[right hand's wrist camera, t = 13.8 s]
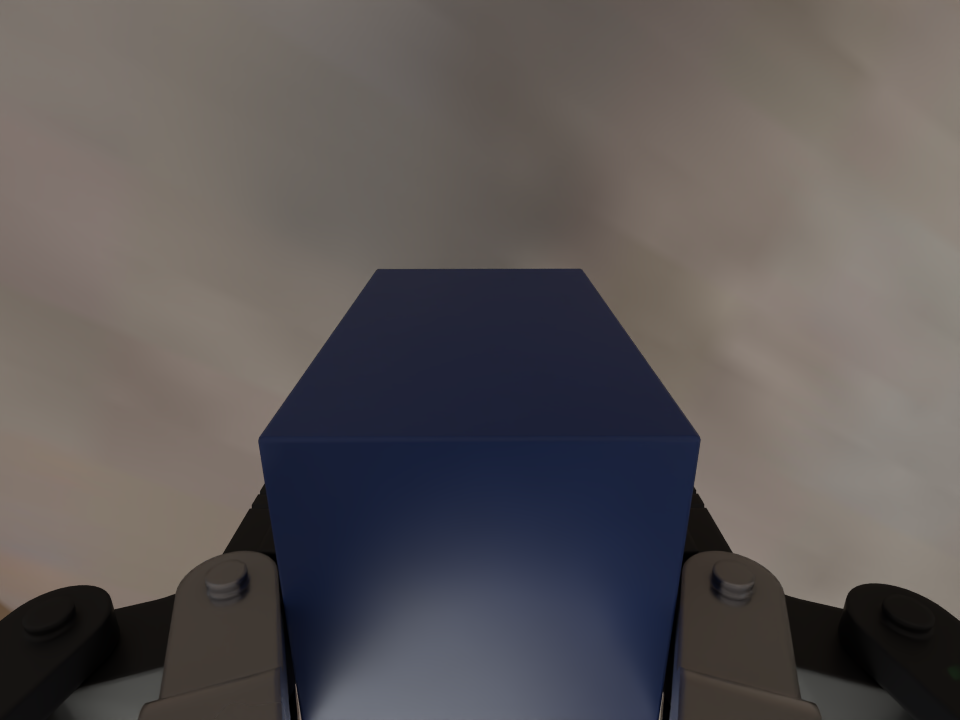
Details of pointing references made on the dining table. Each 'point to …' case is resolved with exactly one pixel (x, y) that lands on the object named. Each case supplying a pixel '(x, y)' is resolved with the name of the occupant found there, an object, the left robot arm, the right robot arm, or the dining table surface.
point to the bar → (479, 505)
